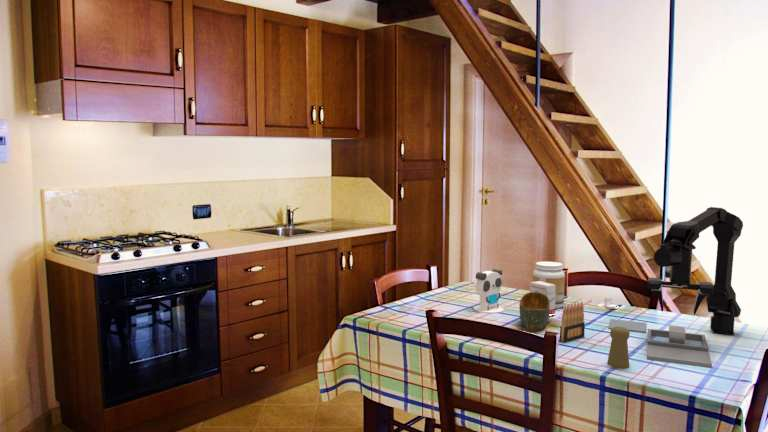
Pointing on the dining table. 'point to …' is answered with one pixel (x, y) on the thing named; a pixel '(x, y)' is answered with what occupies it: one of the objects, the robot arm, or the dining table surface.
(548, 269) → the supplement tub
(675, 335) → the block
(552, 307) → the ink box
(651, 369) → the dining table surface
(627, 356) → the brown tapered mill
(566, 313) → the ammunition clip
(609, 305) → the teacup and saucer
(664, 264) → the robot arm
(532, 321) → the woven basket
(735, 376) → the dining table surface
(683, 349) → the gray rectangular frame
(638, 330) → the slate mat
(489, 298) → the panda figurine
